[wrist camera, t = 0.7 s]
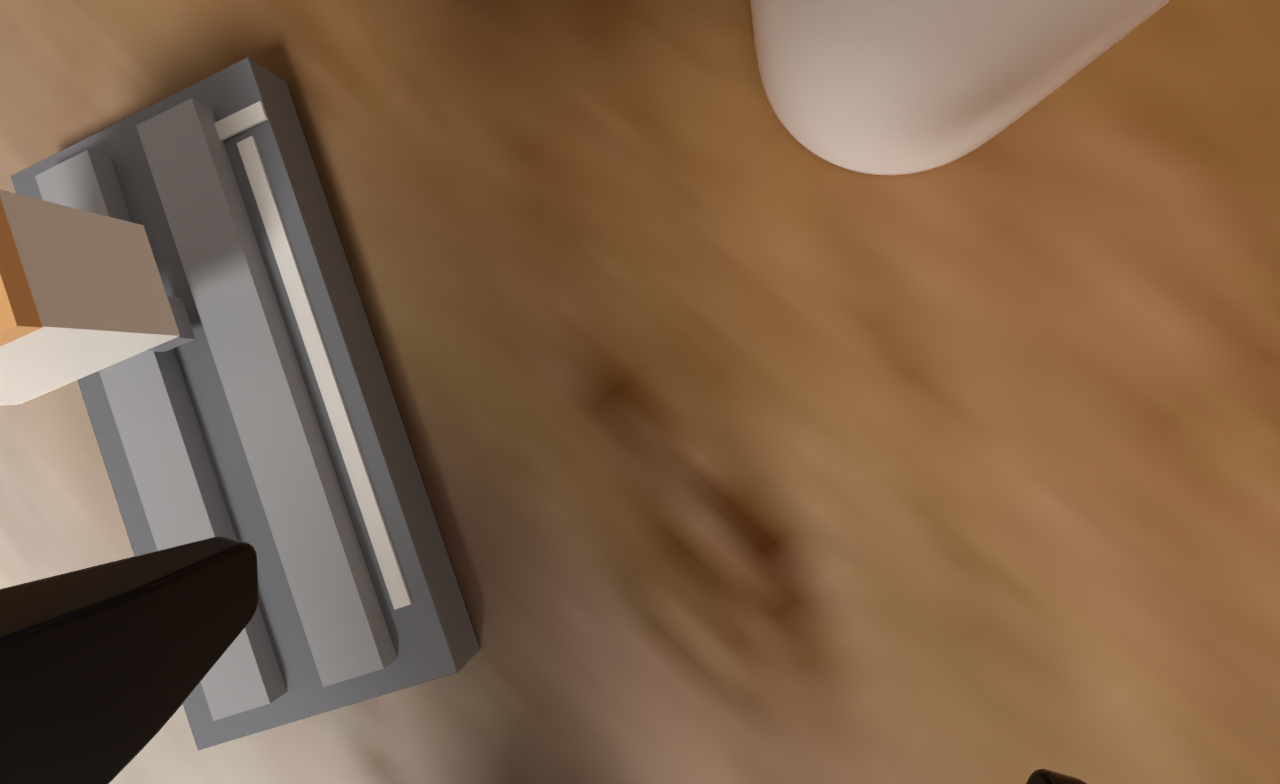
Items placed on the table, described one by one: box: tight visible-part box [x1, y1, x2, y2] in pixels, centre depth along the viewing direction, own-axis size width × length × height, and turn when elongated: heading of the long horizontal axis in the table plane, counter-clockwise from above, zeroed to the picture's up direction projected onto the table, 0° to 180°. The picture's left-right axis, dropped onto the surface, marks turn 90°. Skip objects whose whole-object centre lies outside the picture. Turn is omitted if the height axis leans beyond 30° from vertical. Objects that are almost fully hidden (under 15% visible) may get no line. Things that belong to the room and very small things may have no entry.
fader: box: [0, 190, 195, 405], centre depth 18 cm, size 3×6×7 cm, turn 110°
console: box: [11, 57, 480, 750], centre depth 22 cm, size 21×10×3 cm, turn 20°
